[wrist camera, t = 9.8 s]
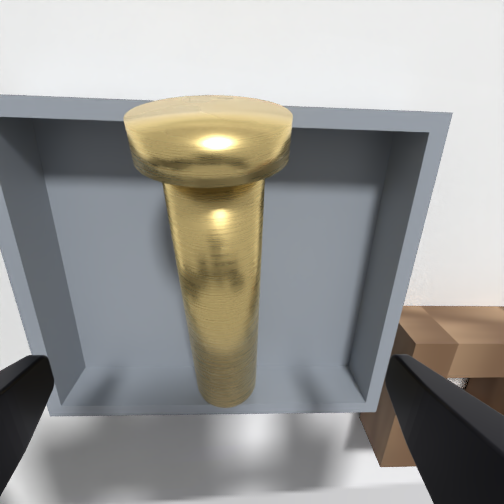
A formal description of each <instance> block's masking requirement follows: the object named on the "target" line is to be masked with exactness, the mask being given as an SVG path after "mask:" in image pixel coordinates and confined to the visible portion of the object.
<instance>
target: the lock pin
mask: <svg viewBox="0 0 504 504" xmlns="http://www.w3.org/2000/svg"><path fill="white" fill-rule="evenodd" d="M123 119H124V124H125V128H126V133H127V137H128V141H129V146H130V150H131V155H132V159H133V163H134V166H135V168H136V169H137V170H138V171H139V172H140V173H141V174H143V175H145V176H146V177H148V178H151V179H153V180H156V181H159V182H162V184H163V190H164V196H165V202H166V207H167V213H168V219H169V224H170V230H171V236H172V242H173V247H174V253H175V259H176V265H177V270H178V276H179V282H180V287H181V293H182V299H183V305H184V310H185V316H186V322H187V327H188V333H189V339H190V345H191V350H192V356H193V362H194V368H195V373H196V379H197V385H198V389H199V392H200V394H201V396H202V397H203V398H204V400H206V401H207V402H208V403H209V404H211V405H213V406H216V407H220V408H231V407H235V406H237V405H239V404H241V403H243V402H244V401H246V400H247V399H248V398H249V396H250V395H251V394H252V392H253V390H254V387H255V383H256V367H257V345H258V323H259V301H260V278H261V256H262V234H263V212H264V190H265V178H268V177H270V176H273V175H274V174H276V173H278V172H279V171H281V170H282V169H283V168H284V167H285V166H286V165H287V163H288V161H289V153H290V143H291V132H292V121H293V115H292V113H291V112H290V111H289V110H288V109H287V108H285V107H283V106H281V105H278V104H276V103H273V102H269V101H265V100H260V99H254V98H248V97H238V96H221V95H202V96H185V97H175V98H168V99H162V100H157V101H153V102H149V103H145V104H142V105H139V106H137V107H134V108H133V109H131V110H129V111H128V112H127V113H126V114H125V115H124V118H123Z"/></svg>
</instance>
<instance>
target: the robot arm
mask: <svg viewBox="0 0 504 504" xmlns="http://www.w3.org/2000/svg"><path fill="white" fill-rule="evenodd" d="M385 384H386V388H387V391H388V394H389V397H390V399H391V402H392V405H393V408H394V411H395V414H396V416H397V419H398V422H399V425H400V428H401V431H402V433H403V436H404V439H405V441H406V444H407V446H408V449H409V451H410V453H411V455H412V458H413V460H414V462H415V464H416V466H417V468H418V471H419V473H420V475H421V477H422V479H423V481H424V484H425V486H426V488H427V490H428V492H429V494H430V496H431V499H432V501H433V503H434V504H504V415H502V414H500V413H499V412H497V411H496V410H494V409H493V408H491V407H490V406H488V405H486V404H485V403H483V402H482V401H480V400H479V399H477V398H475V397H474V396H472V395H471V394H469V393H468V392H466V391H465V390H463V389H461V388H460V387H458V386H457V385H455V384H454V383H452V382H450V381H449V380H447V379H446V378H444V377H443V376H441V375H440V374H438V373H436V372H435V371H433V370H432V369H430V368H429V367H427V366H425V365H424V364H422V363H421V362H419V361H418V360H416V359H415V358H413V357H411V356H410V355H407V354H394V355H392V356H391V358H390V361H389V365H388V369H387V372H386V376H385ZM53 388H54V376H53V372H52V369H51V365H50V361H49V358H48V357H47V356H45V355H29V356H26V357H24V358H22V359H21V360H19V361H17V362H15V363H13V364H12V365H10V366H8V367H6V368H4V369H3V370H1V371H0V496H1V494H2V492H3V490H4V489H5V487H6V485H7V483H8V482H9V480H10V478H11V476H12V474H13V473H14V471H15V469H16V467H17V465H18V464H19V462H20V460H21V458H22V456H23V454H24V453H25V451H26V448H27V446H28V444H29V442H30V440H31V438H32V436H33V433H34V431H35V429H36V427H37V424H38V422H39V420H40V418H41V415H42V413H43V411H44V409H45V406H46V404H47V402H48V400H49V397H50V395H51V393H52V391H53Z"/></svg>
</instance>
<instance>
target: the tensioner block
mask: <svg viewBox="0 0 504 504" xmlns="http://www.w3.org/2000/svg"><path fill="white" fill-rule="evenodd" d="M394 354H407V355H410V356H411V357H413V358H415V359H416V360H418V361H419V362H421V363H422V364H424V365H425V366H427V367H429V368H430V369H432V370H433V371H435V372H436V373H438V374H440V375H441V376H443V377H444V378H446V379H447V378H470V379H469V381H468V384H467V386H466V389H465V391H466V392H468V393H469V394H471V395H472V396H474V397H475V398H477V399H479V400H480V401H482V402H483V403H485V404H486V405H488V406H490V407H491V408H493V409H494V410H496V411H497V412H499V413H500V414H502V415H504V307H491V306H403V308H402V312H401V316H400V320H399V324H398V328H397V332H396V336H395V340H394V344H393V347H392V351H391V355H390V358H391V356H392V355H394ZM389 361H390V359H389ZM388 365H389V363H388ZM387 369H388V367H387ZM386 372H387V371H386ZM385 376H386V375H385ZM360 420H361V422H362V424H363V427H364V429H365V432H366V434H367V436H368V439H369V441H370V444H371V446H372V448H373V451H374V453H375V456H376V458H377V460H378V463H379V465H380V467H407V466H416V464H415V462H414V460H413V458H412V455H411V453H410V451H409V449H408V446H407V444H406V441H405V439H404V436H403V433H402V431H401V428H400V425H399V422H398V419H397V416H396V414H395V411H394V408H393V405H392V402H391V399H390V397H389V394H388V391H387V388H386V384H385V379H384V383H383V386H382V390H381V394H380V398H379V402H378V406H377V410H376V412H361V413H360Z"/></svg>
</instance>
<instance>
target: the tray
mask: <svg viewBox="0 0 504 504" xmlns="http://www.w3.org/2000/svg"><path fill="white" fill-rule="evenodd" d="M149 102H153V101H150V100H125V99H100V98H76V97H51V96H26V95H1V94H0V249H1V253H2V256H3V259H4V263H5V266H6V269H7V273H8V276H9V280H10V283H11V286H12V290H13V293H14V296H15V300H16V303H17V306H18V310H19V313H20V317H21V320H22V323H23V327H24V330H25V333H26V337H27V340H28V344H29V347H30V350H31V354H32V355H45V356H47V357H48V358H49V361H50V365H51V369H52V372H53V376H54V388H53V391H52V393H51V395H50V397H49V400H48V402H47V407H48V411H49V414H50V416H112V415H190V414H268V413H346V412H376V410H377V406H378V402H379V398H380V394H381V390H382V386H383V383H384V379H385V375H386V371H387V367H388V363H389V359H390V355H391V351H392V347H393V344H394V340H395V336H396V332H397V328H398V324H399V320H400V316H401V312H402V308H403V305H404V301H405V297H406V293H407V289H408V285H409V281H410V277H411V273H412V270H413V266H414V262H415V258H416V254H417V250H418V246H419V242H420V238H421V234H422V231H423V227H424V223H425V219H426V215H427V211H428V207H429V203H430V199H431V195H432V192H433V188H434V184H435V180H436V176H437V172H438V168H439V164H440V160H441V157H442V153H443V149H444V145H445V141H446V137H447V133H448V129H449V125H450V121H451V118H452V114H453V113H448V112H423V111H398V110H374V109H349V108H324V107H299V106H283V107H285V108H287V109H288V110H289V111H290V112H291V113H292V115H293V121H292V132H291V143H290V153H289V161H288V163H287V165H286V166H285V167H284V168H283V169H282V170H281V171H279V172H278V173H276V174H274V175H273V176H270V177H268V178H265V190H264V212H263V234H262V256H261V278H260V301H259V323H258V345H257V367H256V383H255V387H254V390H253V392H252V394H251V395H250V396H249V398H248V399H247V400H246V401H244V402H243V403H241V404H239V405H237V406H235V407H231V408H220V407H216V406H213V405H211V404H209V403H208V402H207V401H206V400H204V398H203V397H202V396H201V394H200V392H199V389H198V385H197V379H196V373H195V368H194V362H193V356H192V350H191V345H190V339H189V333H188V327H187V322H186V316H185V310H184V305H183V299H182V293H181V287H180V282H179V276H178V270H177V265H176V259H175V253H174V247H173V242H172V236H171V230H170V224H169V219H168V213H167V207H166V202H165V196H164V190H163V184H162V182H159V181H156V180H153V179H151V178H148V177H146V176H145V175H143V174H141V173H140V172H139V171H138V170H137V169H136V168H135V166H134V163H133V159H132V155H131V150H130V146H129V141H128V137H127V133H126V128H125V124H124V119H123V118H124V115H125V114H126V113H127V112H128V111H129V110H131V109H133V108H134V107H137V106H139V105H142V104H145V103H149Z"/></svg>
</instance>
